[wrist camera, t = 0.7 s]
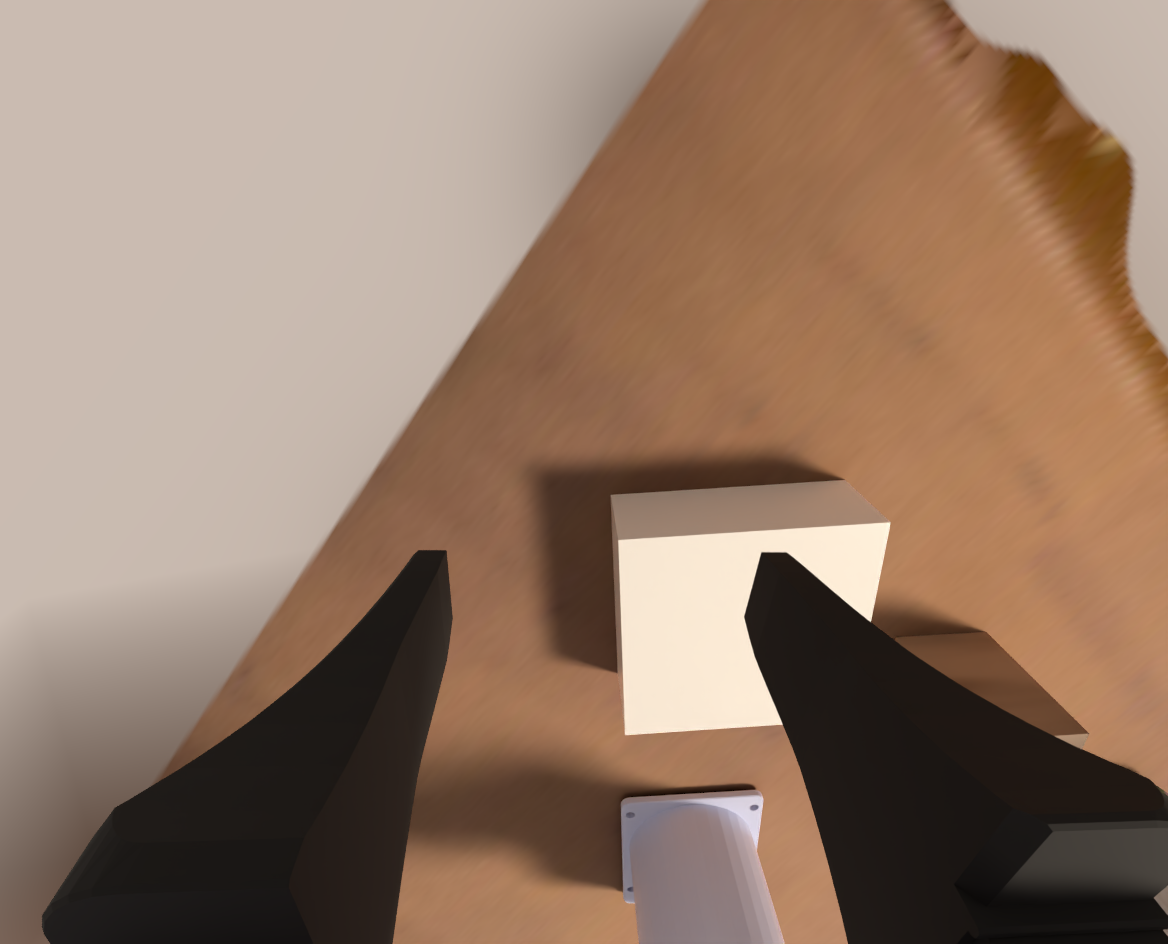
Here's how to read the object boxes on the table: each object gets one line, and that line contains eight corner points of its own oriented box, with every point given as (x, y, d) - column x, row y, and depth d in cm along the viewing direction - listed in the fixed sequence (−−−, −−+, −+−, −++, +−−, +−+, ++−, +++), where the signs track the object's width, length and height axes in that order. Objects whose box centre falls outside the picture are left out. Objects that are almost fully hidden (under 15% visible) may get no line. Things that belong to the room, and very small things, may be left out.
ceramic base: (814, 655, 28) (851, 719, 25) (617, 668, 28) (624, 735, 25) (841, 476, 24) (890, 522, 20) (610, 491, 24) (618, 540, 20)
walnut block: (963, 698, 29) (1054, 808, 24) (878, 703, 29) (950, 814, 24) (985, 631, 28) (1089, 733, 22) (894, 636, 28) (976, 740, 22)
